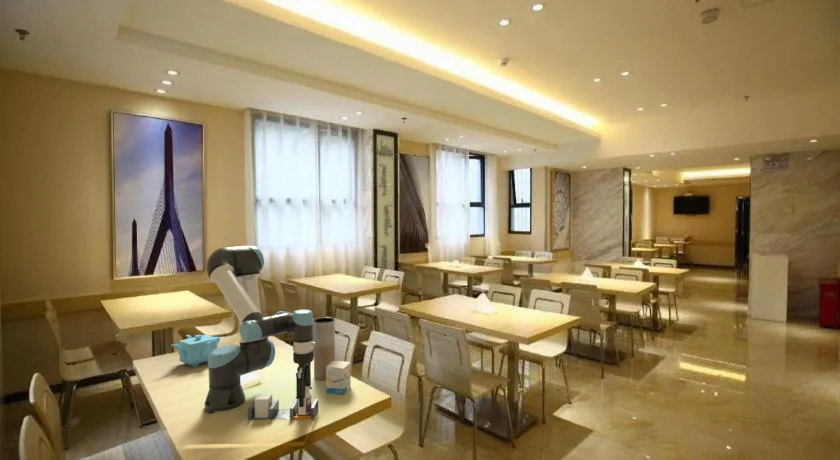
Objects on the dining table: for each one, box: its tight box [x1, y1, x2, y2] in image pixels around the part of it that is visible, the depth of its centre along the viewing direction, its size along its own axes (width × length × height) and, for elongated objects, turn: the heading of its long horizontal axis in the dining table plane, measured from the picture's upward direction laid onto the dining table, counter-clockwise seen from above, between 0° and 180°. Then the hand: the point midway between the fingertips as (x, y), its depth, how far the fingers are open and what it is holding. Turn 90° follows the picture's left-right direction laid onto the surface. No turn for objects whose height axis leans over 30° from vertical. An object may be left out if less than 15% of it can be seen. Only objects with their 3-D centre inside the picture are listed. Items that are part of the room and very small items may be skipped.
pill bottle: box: [297, 386, 312, 416], centre depth 162 cm, size 5×5×10 cm
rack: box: [247, 398, 319, 422], centre depth 162 cm, size 24×8×5 cm, turn 92°
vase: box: [313, 316, 336, 382], centre depth 200 cm, size 10×10×28 cm
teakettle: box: [171, 334, 221, 368], centre depth 221 cm, size 19×19×15 cm
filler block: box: [254, 393, 273, 418], centre depth 161 cm, size 5×5×7 cm
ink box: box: [325, 360, 352, 395], centre depth 186 cm, size 9×8×12 cm
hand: (304, 410), depth 162 cm, fingers open, 5 cm apart
